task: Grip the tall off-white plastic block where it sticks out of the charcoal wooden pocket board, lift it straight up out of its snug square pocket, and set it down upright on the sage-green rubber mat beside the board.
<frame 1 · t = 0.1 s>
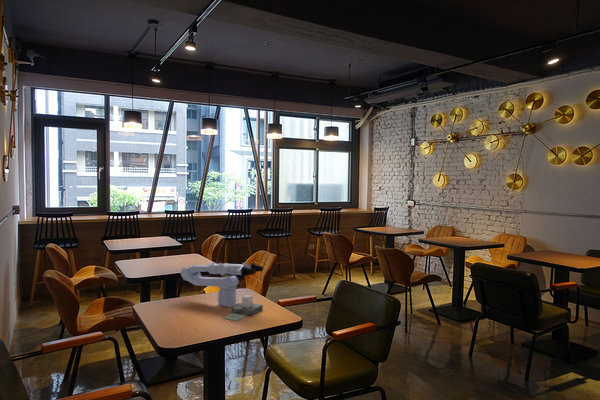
hand: (258, 270, 216), 22 cm above the table, tool horizontal, fingers open, 7 cm apart
mat: (235, 317, 204), on the table
condiment: (226, 296, 243), on the table
block: (247, 303, 214), in the pocket board
pocket board: (247, 311, 215), on the table
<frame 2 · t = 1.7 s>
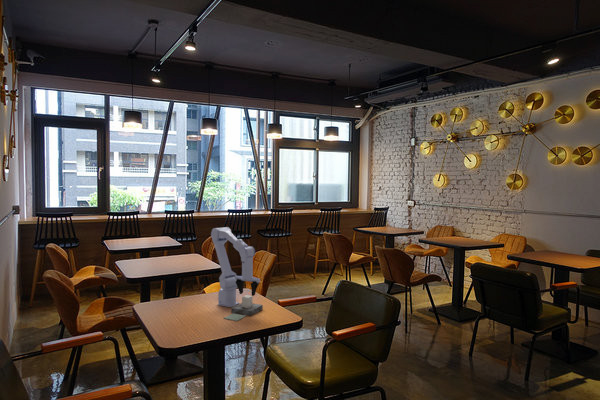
hand: (247, 294, 214), 9 cm above the table, tool pointing down, fingers open, 7 cm apart
nothing on the table moved.
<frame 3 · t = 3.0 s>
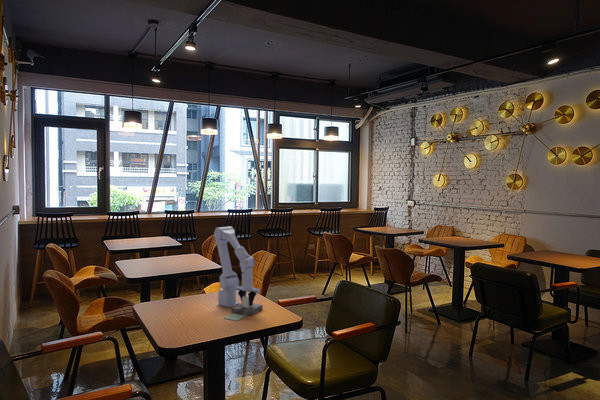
hand: (247, 304, 215), 3 cm above the table, tool pointing down, fingers closed on block, 4 cm apart
block: (247, 303, 214), in the pocket board, touching gripper
everything else where it was.
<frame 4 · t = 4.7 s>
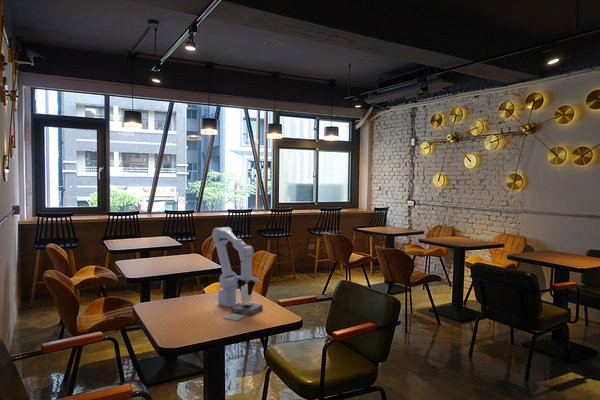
hand: (246, 294, 213), 9 cm above the table, tool pointing down, fingers closed on block, 4 cm apart
block: (246, 293, 213), point 10 cm above the table, touching gripper
everything else where it was.
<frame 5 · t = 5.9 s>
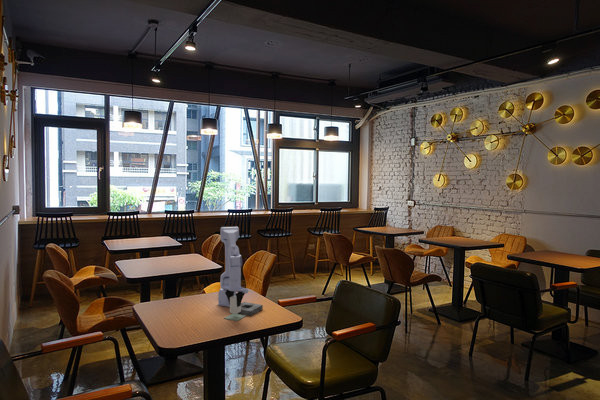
hand: (235, 305, 204), 6 cm above the table, tool pointing down, fingers closed on block, 4 cm apart
block: (235, 304, 204), point 7 cm above the table, touching gripper
everything else where it was.
when the fingers open (5 cm above the table, at t = 6.6 s): block stays where it is, resting on mat.
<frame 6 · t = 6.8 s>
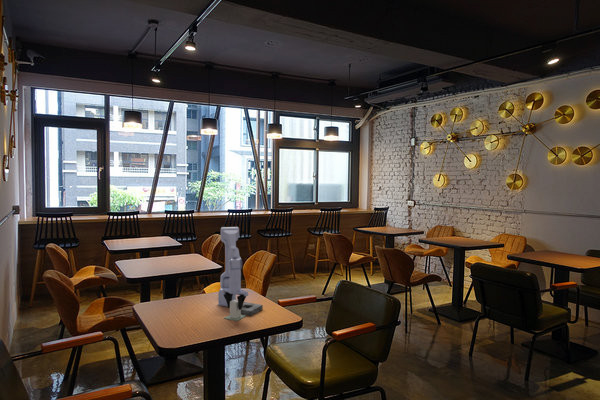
hand: (235, 308, 204), 5 cm above the table, tool pointing down, fingers open, 6 cm apart
block: (235, 308, 204), on the mat
everything else where it was.
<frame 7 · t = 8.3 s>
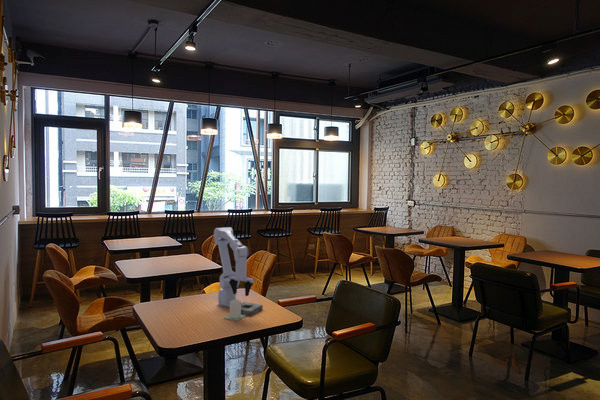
hand: (240, 294, 212), 9 cm above the table, tool pointing down, fingers open, 7 cm apart
nothing on the table moved.
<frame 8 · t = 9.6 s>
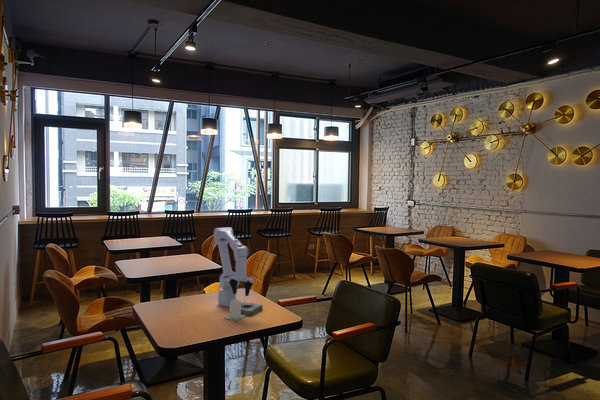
hand: (241, 294, 212), 9 cm above the table, tool pointing down, fingers open, 7 cm apart
nothing on the table moved.
at the end: block 0.3 cm off-centre on the mat, point 4.4 cm above the mat's base; block tilted 0°; block touching mat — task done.
